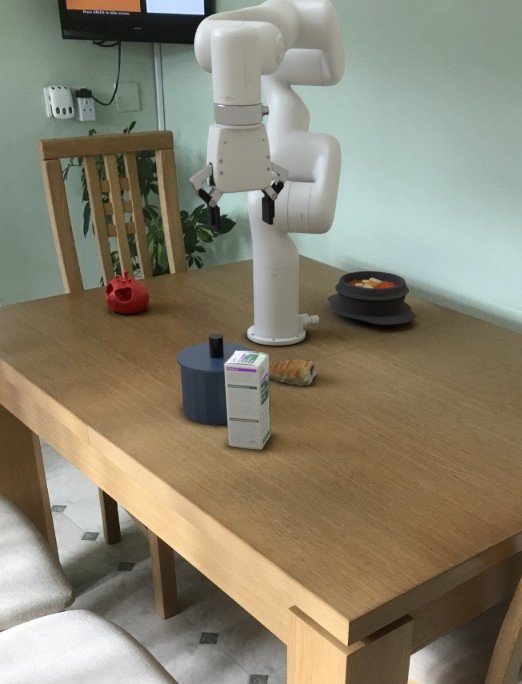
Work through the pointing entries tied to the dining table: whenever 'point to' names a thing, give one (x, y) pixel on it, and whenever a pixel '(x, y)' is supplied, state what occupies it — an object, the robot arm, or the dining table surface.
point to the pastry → (293, 372)
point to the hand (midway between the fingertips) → (242, 226)
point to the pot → (204, 397)
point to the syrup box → (248, 399)
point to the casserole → (372, 298)
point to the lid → (209, 355)
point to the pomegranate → (126, 295)
